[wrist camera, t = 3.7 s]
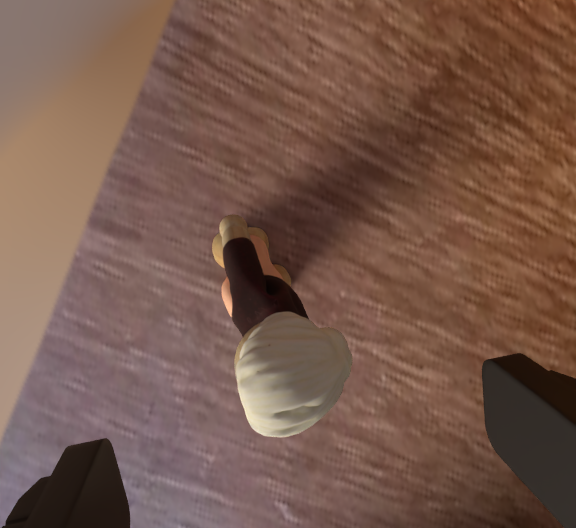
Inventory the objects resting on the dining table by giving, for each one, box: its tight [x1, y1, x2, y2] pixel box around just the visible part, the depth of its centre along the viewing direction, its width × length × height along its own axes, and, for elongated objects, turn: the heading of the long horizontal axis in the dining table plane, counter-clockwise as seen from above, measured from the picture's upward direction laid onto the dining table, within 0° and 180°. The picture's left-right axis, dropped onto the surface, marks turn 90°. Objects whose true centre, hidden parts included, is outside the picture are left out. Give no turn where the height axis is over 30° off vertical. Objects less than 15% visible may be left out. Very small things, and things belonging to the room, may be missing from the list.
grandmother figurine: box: [212, 215, 352, 437], centre depth 18 cm, size 8×4×13 cm, turn 37°
